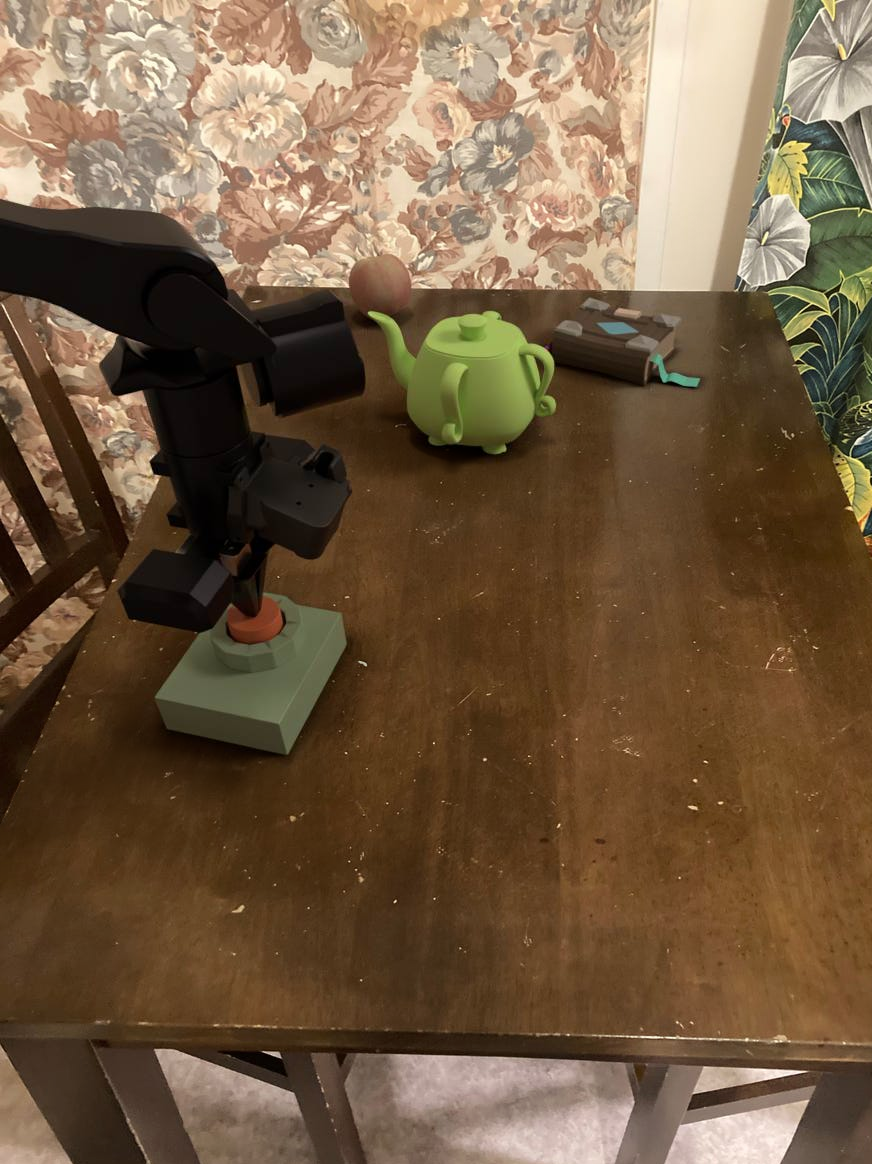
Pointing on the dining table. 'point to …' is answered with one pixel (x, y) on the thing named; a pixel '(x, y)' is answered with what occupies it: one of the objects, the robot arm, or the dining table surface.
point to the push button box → (254, 680)
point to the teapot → (471, 380)
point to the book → (617, 343)
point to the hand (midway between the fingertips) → (252, 613)
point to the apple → (380, 285)
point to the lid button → (256, 623)
